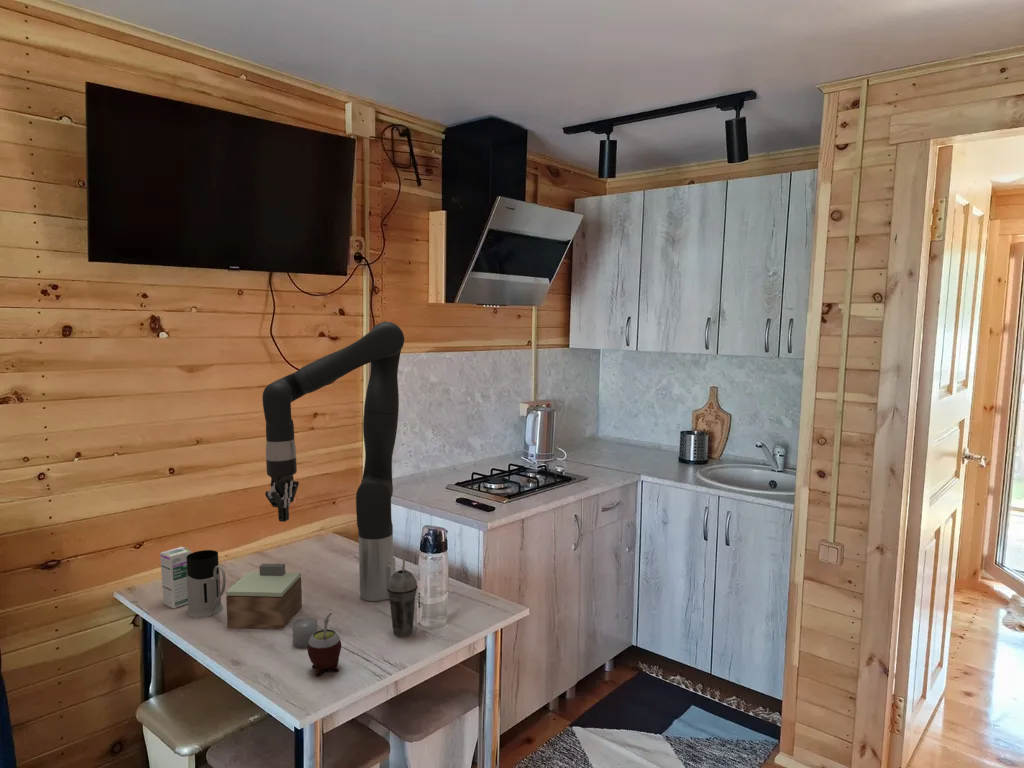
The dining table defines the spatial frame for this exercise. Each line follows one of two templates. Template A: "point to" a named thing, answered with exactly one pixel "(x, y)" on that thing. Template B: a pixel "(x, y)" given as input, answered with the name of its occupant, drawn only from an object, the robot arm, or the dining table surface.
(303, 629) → the grey rounded cylinder
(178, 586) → the syrup box
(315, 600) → the dining table surface
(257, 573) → the lid
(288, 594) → the storage box
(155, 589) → the dining table surface
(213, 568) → the glass holder
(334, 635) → the mate gourd
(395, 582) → the beverage cup
